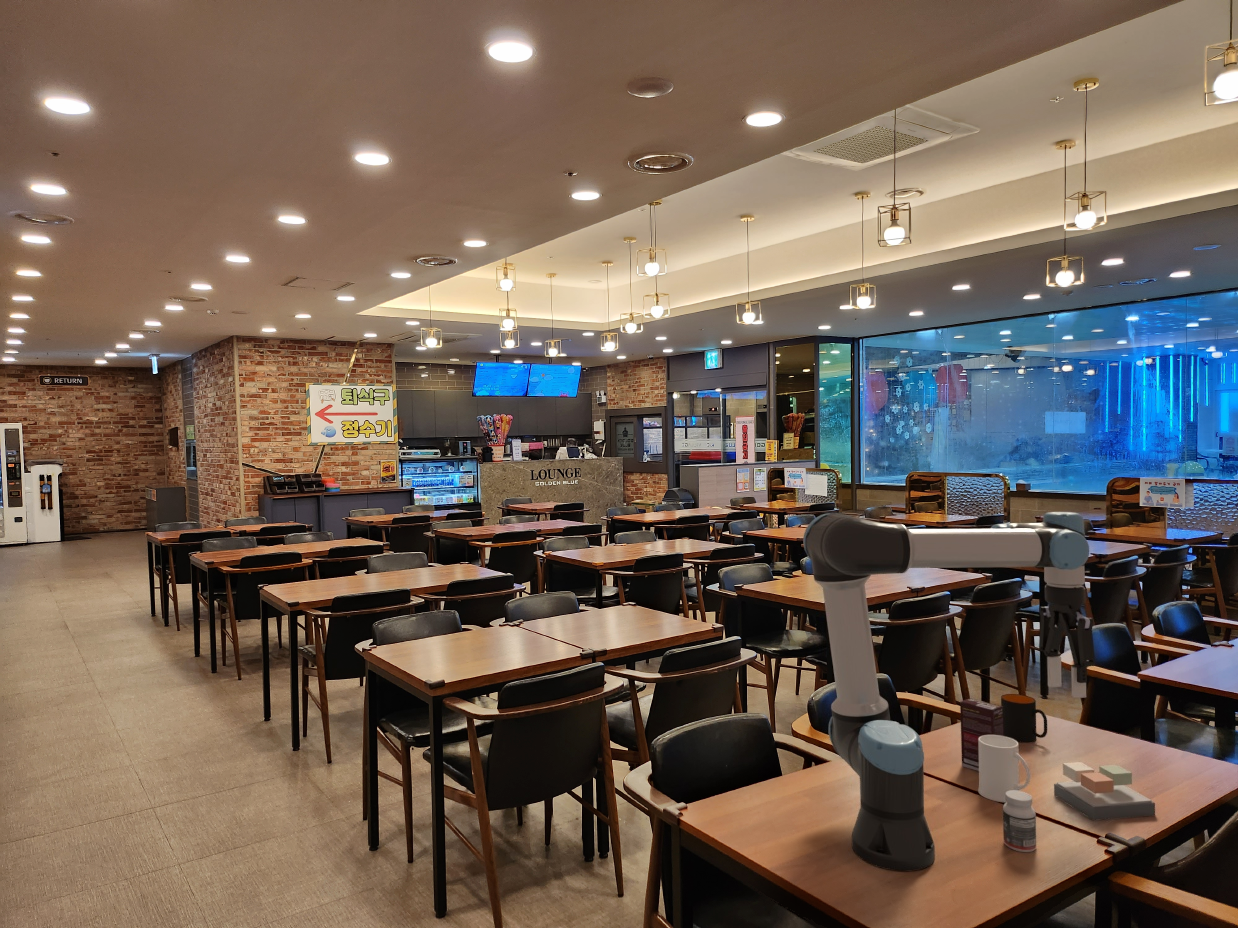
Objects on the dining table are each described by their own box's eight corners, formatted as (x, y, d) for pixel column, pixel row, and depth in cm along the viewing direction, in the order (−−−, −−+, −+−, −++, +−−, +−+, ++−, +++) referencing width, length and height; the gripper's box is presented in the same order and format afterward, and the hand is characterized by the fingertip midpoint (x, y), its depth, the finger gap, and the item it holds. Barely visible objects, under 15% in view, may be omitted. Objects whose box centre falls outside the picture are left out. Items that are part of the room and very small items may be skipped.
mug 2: (1042, 804, 168) (1041, 749, 167) (1012, 811, 164) (1011, 755, 164) (998, 783, 179) (997, 731, 178) (969, 789, 176) (968, 737, 175)
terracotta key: (1095, 793, 161) (1095, 781, 161) (1080, 784, 165) (1080, 773, 165) (1113, 791, 162) (1113, 780, 162) (1099, 783, 166) (1098, 771, 166)
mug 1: (1037, 749, 198) (1037, 709, 198) (994, 735, 208) (994, 697, 208) (1056, 742, 202) (1056, 703, 202) (1014, 729, 213) (1013, 691, 212)
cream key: (1076, 782, 167) (1076, 770, 167) (1063, 774, 171) (1062, 763, 171) (1094, 780, 167) (1094, 769, 167) (1080, 773, 171) (1080, 761, 171)
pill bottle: (1004, 835, 154) (1003, 786, 154) (1036, 842, 152) (1036, 792, 151) (1002, 848, 149) (1001, 797, 149) (1035, 855, 147) (1034, 803, 146)
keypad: (1093, 820, 160) (1093, 805, 160) (1054, 795, 172) (1053, 781, 172) (1155, 815, 161) (1154, 800, 161) (1112, 790, 173) (1111, 777, 173)
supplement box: (1005, 771, 185) (1004, 705, 185) (994, 777, 182) (993, 710, 182) (971, 760, 192) (970, 697, 192) (960, 765, 189) (959, 701, 189)
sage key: (1113, 785, 165) (1113, 773, 165) (1099, 777, 169) (1099, 766, 169) (1131, 784, 165) (1131, 772, 165) (1117, 776, 169) (1116, 764, 169)
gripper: (1115, 591, 156) (1117, 705, 156) (1050, 576, 176) (1051, 677, 176) (1081, 593, 155) (1083, 707, 155) (1019, 578, 175) (1021, 679, 175)
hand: (1066, 691), depth 165 cm, fingers open, 7 cm apart
